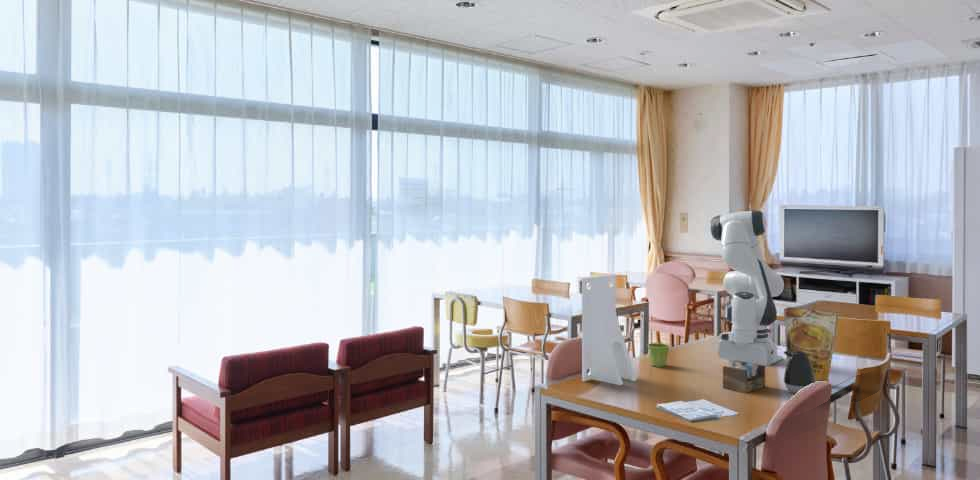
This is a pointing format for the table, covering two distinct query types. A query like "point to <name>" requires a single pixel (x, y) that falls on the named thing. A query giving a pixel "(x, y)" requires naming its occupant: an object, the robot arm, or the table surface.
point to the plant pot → (658, 354)
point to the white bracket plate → (603, 333)
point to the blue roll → (748, 368)
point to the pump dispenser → (798, 371)
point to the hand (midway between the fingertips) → (743, 374)
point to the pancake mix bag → (812, 337)
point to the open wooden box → (743, 379)
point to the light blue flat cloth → (696, 410)
